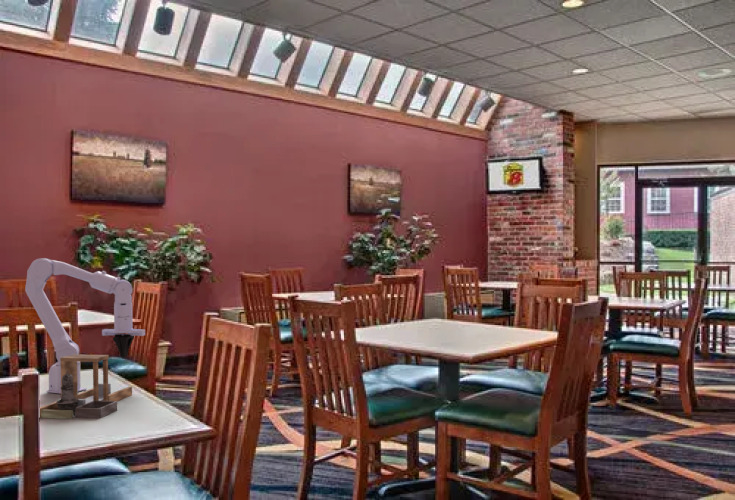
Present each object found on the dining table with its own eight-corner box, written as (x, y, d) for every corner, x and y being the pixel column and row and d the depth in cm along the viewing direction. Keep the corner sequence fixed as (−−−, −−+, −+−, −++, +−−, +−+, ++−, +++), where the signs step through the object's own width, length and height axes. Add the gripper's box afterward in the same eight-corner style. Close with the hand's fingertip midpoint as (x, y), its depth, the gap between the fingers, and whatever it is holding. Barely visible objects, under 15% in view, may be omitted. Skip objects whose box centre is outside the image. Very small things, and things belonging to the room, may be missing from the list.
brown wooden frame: (98, 393, 209) (98, 347, 209) (151, 395, 206) (150, 348, 206) (35, 417, 179) (34, 364, 179) (95, 420, 176) (94, 365, 176)
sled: (94, 398, 202) (94, 383, 202) (112, 398, 201) (112, 383, 201) (64, 410, 187) (64, 393, 187) (83, 410, 186) (83, 394, 186)
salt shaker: (83, 411, 186) (82, 368, 186) (73, 416, 181) (72, 372, 181) (62, 411, 187) (62, 369, 187) (52, 416, 181) (51, 372, 181)
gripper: (96, 317, 216) (97, 358, 216) (137, 317, 214) (137, 359, 214) (108, 315, 223) (109, 355, 223) (148, 315, 221) (148, 356, 221)
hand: (123, 357), depth 219 cm, fingers closed
